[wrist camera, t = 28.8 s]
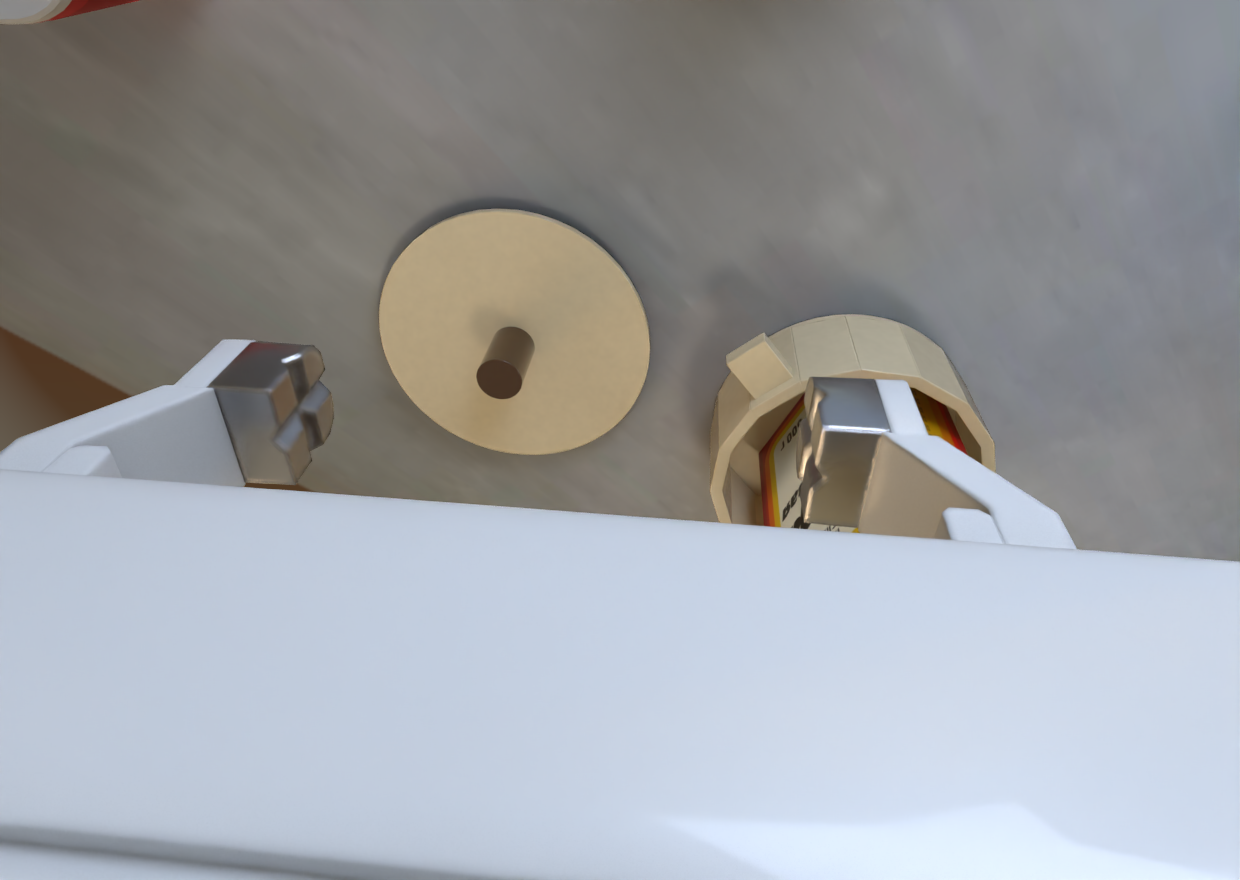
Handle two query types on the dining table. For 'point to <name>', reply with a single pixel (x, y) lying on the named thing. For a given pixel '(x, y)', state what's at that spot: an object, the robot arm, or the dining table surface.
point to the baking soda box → (782, 475)
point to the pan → (778, 379)
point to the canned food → (49, 9)
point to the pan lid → (514, 331)
